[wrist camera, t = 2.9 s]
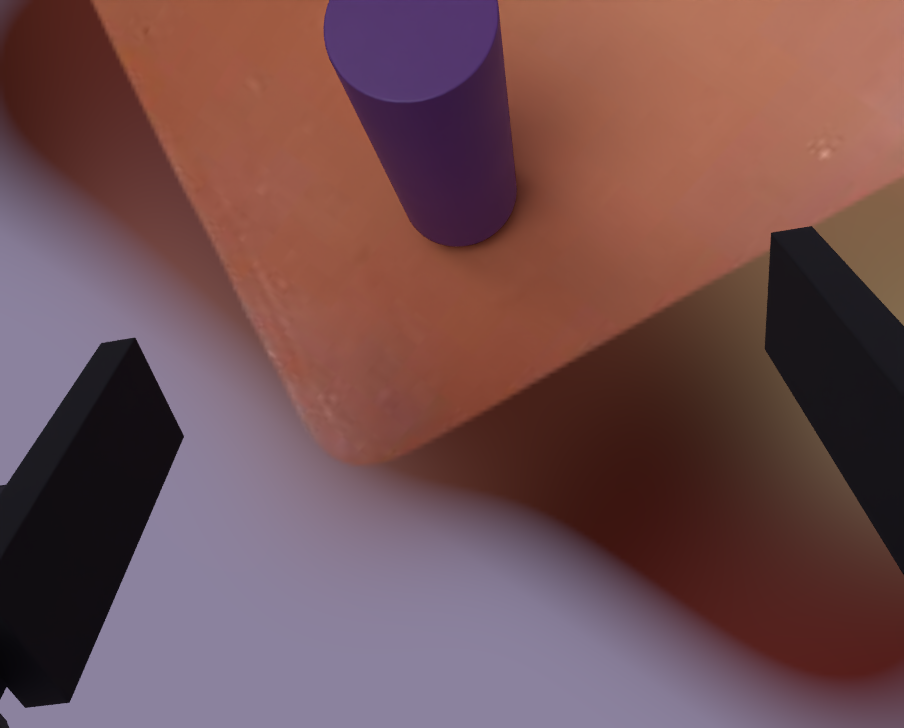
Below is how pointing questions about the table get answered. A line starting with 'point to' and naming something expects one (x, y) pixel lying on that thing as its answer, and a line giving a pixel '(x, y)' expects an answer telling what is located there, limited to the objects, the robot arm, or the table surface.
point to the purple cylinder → (431, 107)
